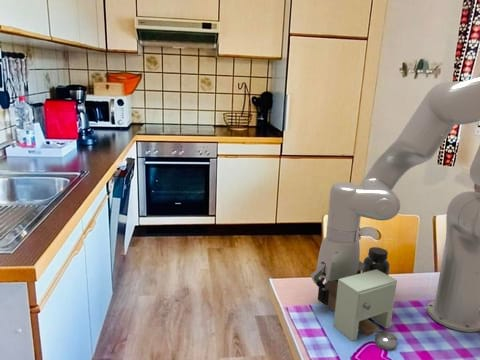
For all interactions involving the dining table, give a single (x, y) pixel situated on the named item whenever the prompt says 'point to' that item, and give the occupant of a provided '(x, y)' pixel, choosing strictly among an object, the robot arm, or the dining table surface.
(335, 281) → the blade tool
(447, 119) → the robot arm
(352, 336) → the cabinet
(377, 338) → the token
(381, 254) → the supplement bottle
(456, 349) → the dining table surface
